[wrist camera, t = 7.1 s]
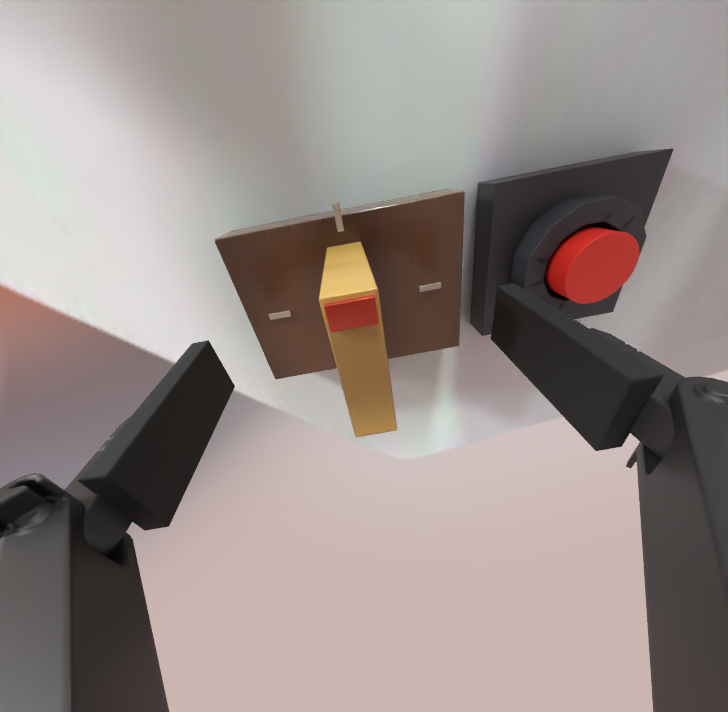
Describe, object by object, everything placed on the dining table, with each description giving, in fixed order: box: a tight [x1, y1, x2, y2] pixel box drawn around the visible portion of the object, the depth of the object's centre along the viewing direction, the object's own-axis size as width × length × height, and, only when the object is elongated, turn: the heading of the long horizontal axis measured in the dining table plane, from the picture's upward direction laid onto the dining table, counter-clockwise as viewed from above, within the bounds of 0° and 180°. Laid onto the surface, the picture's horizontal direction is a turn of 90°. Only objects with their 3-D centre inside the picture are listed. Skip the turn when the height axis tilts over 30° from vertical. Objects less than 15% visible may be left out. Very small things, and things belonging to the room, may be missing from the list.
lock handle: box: [319, 242, 397, 437], centre depth 14 cm, size 7×2×8 cm, turn 9°
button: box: [546, 227, 639, 304], centre depth 16 cm, size 4×4×2 cm
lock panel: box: [215, 189, 464, 379], centre depth 19 cm, size 14×11×3 cm
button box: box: [470, 149, 673, 336], centre depth 18 cm, size 10×10×4 cm
